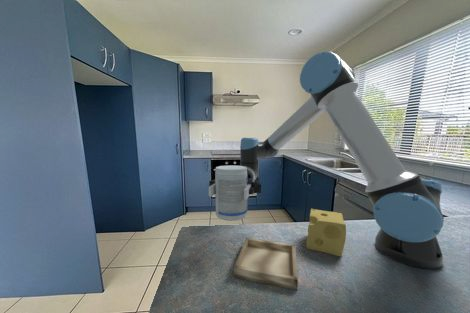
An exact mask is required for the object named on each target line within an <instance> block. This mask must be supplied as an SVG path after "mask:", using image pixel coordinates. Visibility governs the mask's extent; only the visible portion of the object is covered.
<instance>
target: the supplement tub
mask: <svg viewBox="0 0 470 313" xmlns="http://www.w3.org/2000/svg"><path fill="white" fill-rule="evenodd" d="M214 173H215V174H214V176H215V178H214V180H215V194H214V195H215V198H214V200H215V215H216V217H217V218H218V219H220V220H223V221H228V222H232V221H233V222H234V221H235V222H236V221H239V220H242V219H245V218H246V217H247V215H248V199H247V200H244V189H245V188H246V187H247V167H245V166H240V165H232V164H231V165H219V166H216V167H215V171H214Z"/></svg>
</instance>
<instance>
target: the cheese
mask: <svg viewBox="0 0 470 313" xmlns="http://www.w3.org/2000/svg"><path fill="white" fill-rule="evenodd" d="M308 222H309V223H308V228H307V237H306V242H305V244H306V245H305V246H306V249H308V250H312V251H317V252H322V253H326V254H330V255H333V256H338V257H343V251H344V248H345V243H346V238H347V236H346V235H347V226H346V222H345V221H344V217H343V213H341V212H335V211H328V210H321V209H315V208H310V213H309V221H308Z"/></svg>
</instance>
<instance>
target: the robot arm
mask: <svg viewBox="0 0 470 313" xmlns="http://www.w3.org/2000/svg"><path fill="white" fill-rule="evenodd" d="M299 83H300V86H301V88H302V89H303V90H304V91H305V92H306V93H308V94H310V95H311V96H310V98H308V99H307V100H306V101H305V102H304V103H303V104H302V105H301V106H300V107H299V108H298V109H297V110H296V111H295V112H294V113H293V114H292V115H291V116H290V117H288V118H287V119H286V120H285V121H284V122H283V123H282V124H281V125H280V126H279V127H277V129H276V130H275V131H274V132H272V133H271V135H270V136H269V137H267V138H266V139H265V140H264V141H259V139H258V138H257V137H242V138H241V140H240V147H239V149H240V154H239V156H240V157H239V158H240V160H239V162H240V163H239V166H245V167H247V187H246V188H245V189H244V200H247V201H248V198H249V197H250V195H254V194H256V193H258V194H261V193H262V183H261V181H260V179H261V178H258V176H259V168H258V160H259V159H270V158H274V157H276V156H277V155H278V154H279V151H280V150H281V149H282V148H283V147H284V146H285V145H287V143H289V142H290V141H291V140H293V139H294V138H295V137H296V136H297V135H298V134H300V133H301V132H302V131H303V130H305V129H306V128H307V127H308V126H310V124H312V122H314V121H315V120H317V118H319V117H320V116H321V115H322V114H324V113H325V112H327V114H328V116H329V118H330V120H331V121H332V124H333V125H334V127H335V128H336V130H337V131H338V133H339V135H340V137H341V139H342V140H343V142H344V144H345V146H346V147H347V149H348V151H349V152H350V154H351V156H352V157H353V160H354V161H355V163H356V165H357V168H359V170H360V171H361V174H362V176H363V177H364V179H365V181H366V182H367V185H366V187H365V189H364V190H365V193H366V194H367V197H368V199H369V200H370V202H371V204H372V205H373V209H372V210H373V217H374V220H375V222H376V224H377V225H378V227H379V230H378V232H377V234H376V235H375V239H374V241H375V242H374V246H375V248H376V249H377V250H378V251H379V252H381V253H382V254H384V255H385V256H387V257H388V258H390V259H393V261H397V262H399V263H402V264H405V265H409V266H411V267H416V268H420V269H427V270H428V269H430V270H434V269H436V270H437V269H440V268H441V267H442V266H443V260H444V257H443V253H442V250H441V246H440V244H439V241H438V238H437V236H438V235H439V234H440V232H441V231H442V229H443V227H444V226H443V225H444V222H445V221H444V215H443V212H442V210H441V209H442V208H441V196H442V195H441V194H443V190H442V184H441V183H440V181H436V180H430V179H423V178H421V177H420V176H419V174H418V173H416V172H412V171H409V170H406V168H405V167H404V165H403V163H402V162H401V161H400V159H399V158H398V155H396V153H395V151H394V149H393V148H392V147H391V145H390V143H389V142H388V140H387V139H386V138H385V136H384V134H383V133H382V131H381V129H380V128H379V127H378V125H377V123H376V122H375V120H374V118H373V117H372V115H371V114H370V113H369V111H368V109H367V108H366V106H365V104H364V103H363V102H362V100H361V98H360V97H359V95H358V94H357V91H358V90H357V89H358V87H359V83H358V81H357V80H356V75H355V72H354V71H353V69H352V68H351V66H349V64H347V63H346V62H345V61H344V60H343V59H342V58H341V57H340V55H338V54H337V53H334V52H332V51H320V52H317V53H316V54H314V55H313V56H311V57H310V58H309V59H307V61H306V62H305V63H304V65H303V67H302V68H301V73H300V74H299ZM214 195H215V179H212V180H209V184H208V197H211V198H212V197H213V196H214Z"/></svg>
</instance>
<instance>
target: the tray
mask: <svg viewBox="0 0 470 313" xmlns="http://www.w3.org/2000/svg"><path fill="white" fill-rule="evenodd" d="M297 264H298V263H297V252H296V245H295V244H290V243H284V242H277V241H270V240H264V239H257V238H250V237H245V240H244V242H243V245H242V248H241V250H240V252H239V254H238V257H237V259H236V262H235V265H234V267H233V278H235V279H239V280H244V281H245V280H246V281H250V282H256V283H260V284H265V285H269V286H275V287H279V288H284V289H288V290H289V289H290V290H294V291H298V286H299V284H298V283H299V278H298V266H297Z"/></svg>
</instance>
